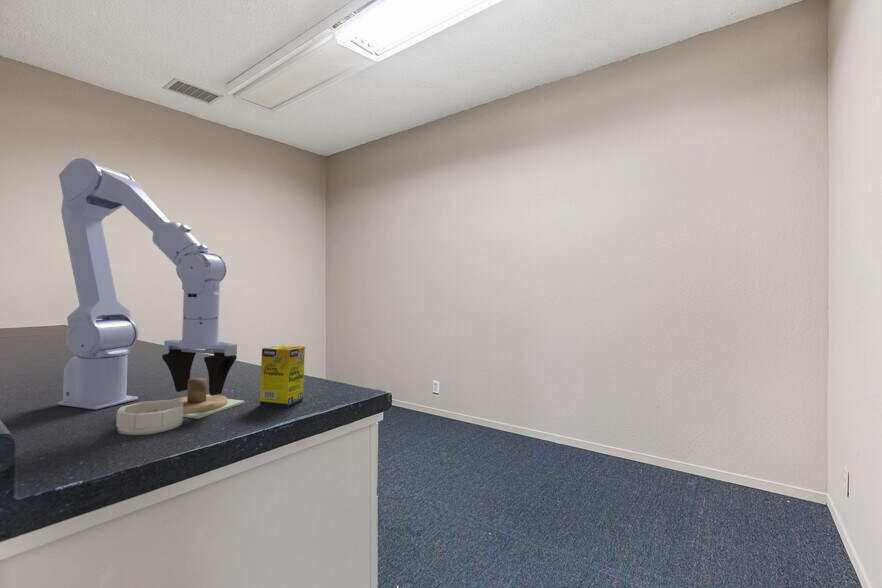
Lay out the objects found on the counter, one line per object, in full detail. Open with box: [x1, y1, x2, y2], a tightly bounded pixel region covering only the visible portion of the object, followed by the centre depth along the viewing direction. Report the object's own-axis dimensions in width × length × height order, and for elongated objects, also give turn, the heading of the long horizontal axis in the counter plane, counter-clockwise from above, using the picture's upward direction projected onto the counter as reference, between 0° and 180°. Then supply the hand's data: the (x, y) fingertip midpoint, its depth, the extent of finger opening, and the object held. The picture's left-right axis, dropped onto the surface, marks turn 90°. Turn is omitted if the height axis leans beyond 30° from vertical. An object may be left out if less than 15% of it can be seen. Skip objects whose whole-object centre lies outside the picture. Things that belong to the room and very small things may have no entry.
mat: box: [183, 398, 246, 420], centre depth 77 cm, size 11×11×1 cm
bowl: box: [115, 399, 184, 436], centre depth 66 cm, size 8×8×3 cm
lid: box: [171, 377, 228, 413], centre depth 77 cm, size 10×10×5 cm
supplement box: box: [259, 344, 306, 409], centre depth 82 cm, size 6×6×11 cm
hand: (198, 392), depth 77 cm, fingers open, 7 cm apart
